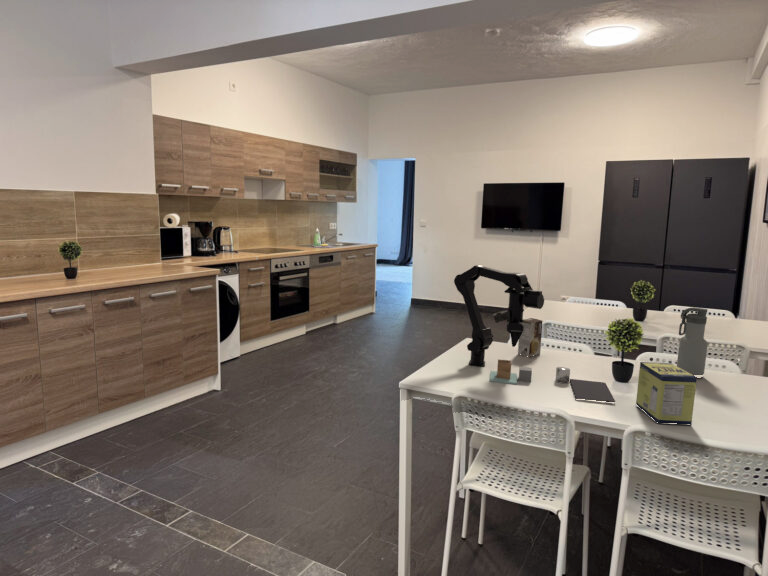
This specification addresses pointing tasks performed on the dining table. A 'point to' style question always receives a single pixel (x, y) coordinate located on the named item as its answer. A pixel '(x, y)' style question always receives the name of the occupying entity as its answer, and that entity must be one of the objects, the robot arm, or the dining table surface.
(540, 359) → the dining table surface
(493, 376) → the teal mat
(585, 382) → the notebook
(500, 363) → the walnut block
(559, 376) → the grey metal cylinder
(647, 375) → the protein box
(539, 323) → the coffee box
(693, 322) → the water bottle
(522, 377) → the dark grey plastic block
